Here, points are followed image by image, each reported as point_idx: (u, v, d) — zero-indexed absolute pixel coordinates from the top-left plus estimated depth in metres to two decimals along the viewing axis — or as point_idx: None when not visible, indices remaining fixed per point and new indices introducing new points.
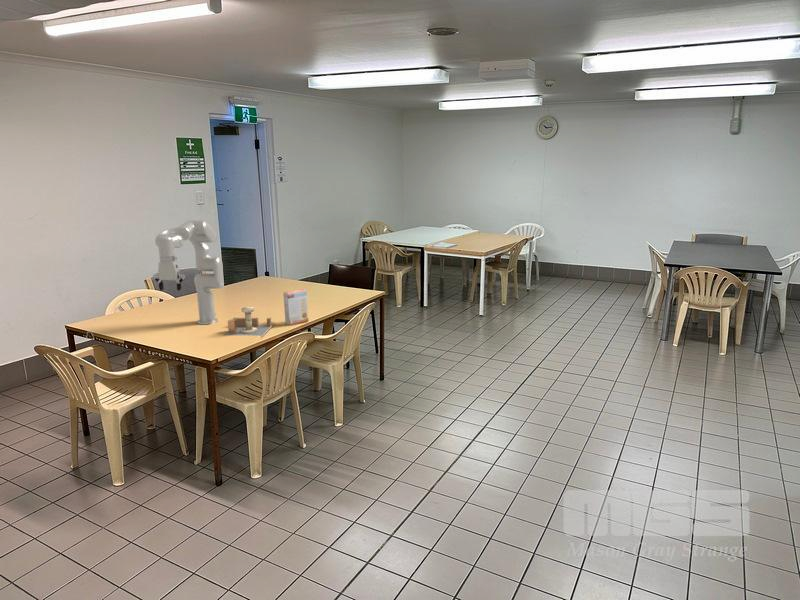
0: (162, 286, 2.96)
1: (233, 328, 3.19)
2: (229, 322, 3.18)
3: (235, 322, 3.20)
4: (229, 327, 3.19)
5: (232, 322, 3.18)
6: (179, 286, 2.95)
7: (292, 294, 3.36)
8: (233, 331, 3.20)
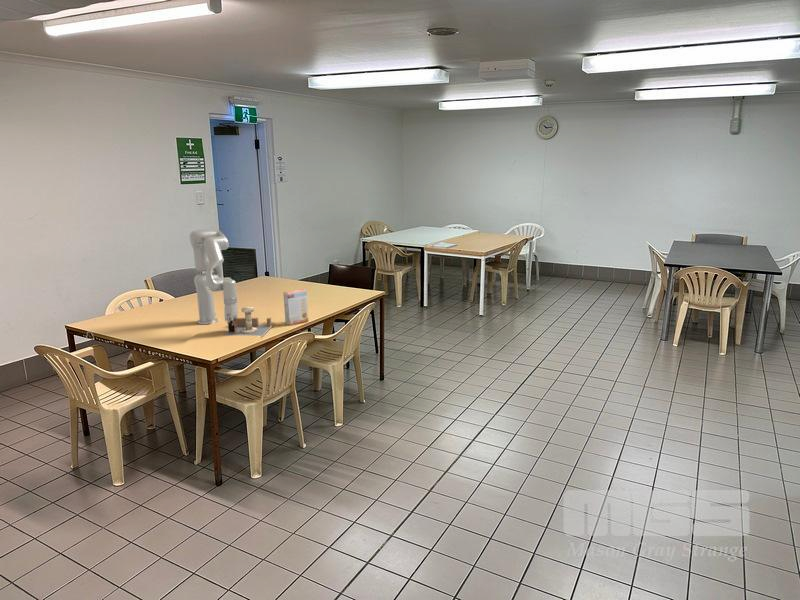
0: None
1: None
2: None
3: (235, 322, 3.20)
4: None
5: (233, 322, 3.18)
6: None
7: (292, 294, 3.36)
8: None
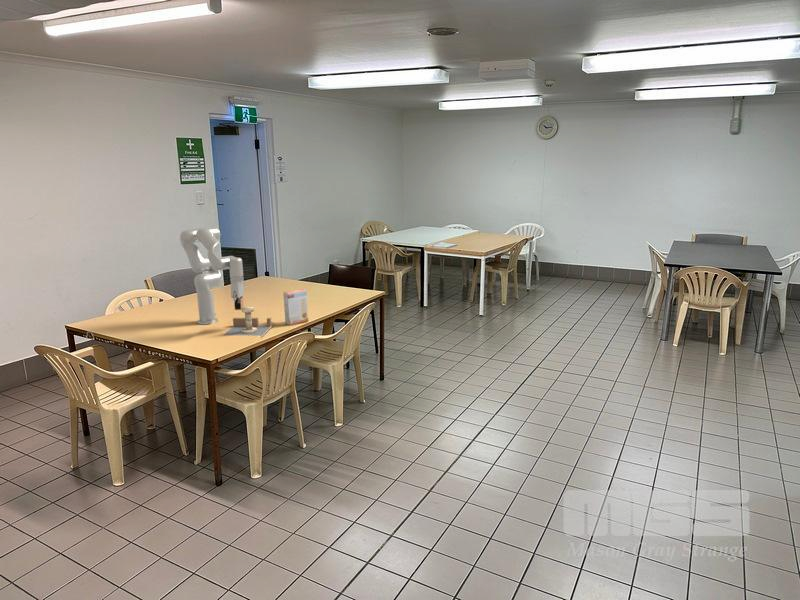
0: None
1: (240, 305, 3.23)
2: None
3: (241, 300, 3.24)
4: None
5: (239, 299, 3.22)
6: None
7: (292, 294, 3.36)
8: (239, 309, 3.24)
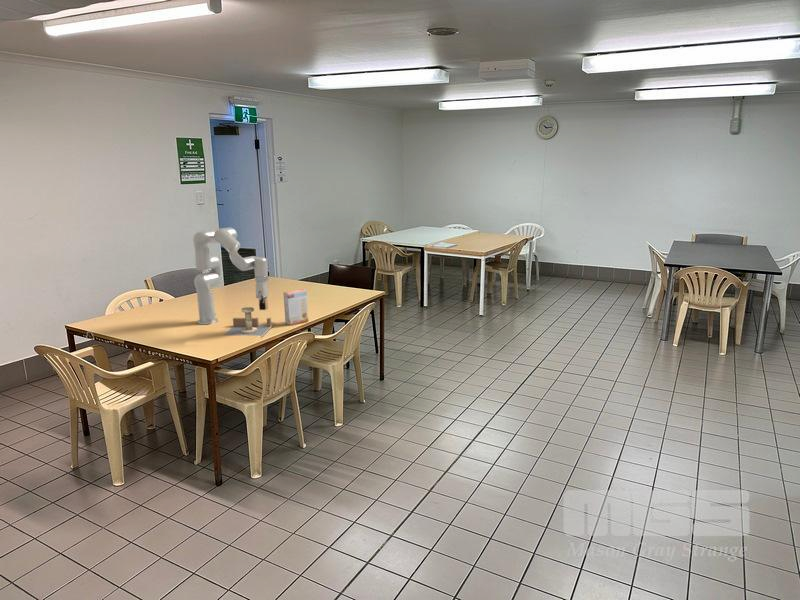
0: None
1: None
2: None
3: (266, 300, 3.23)
4: None
5: None
6: None
7: (292, 294, 3.36)
8: None
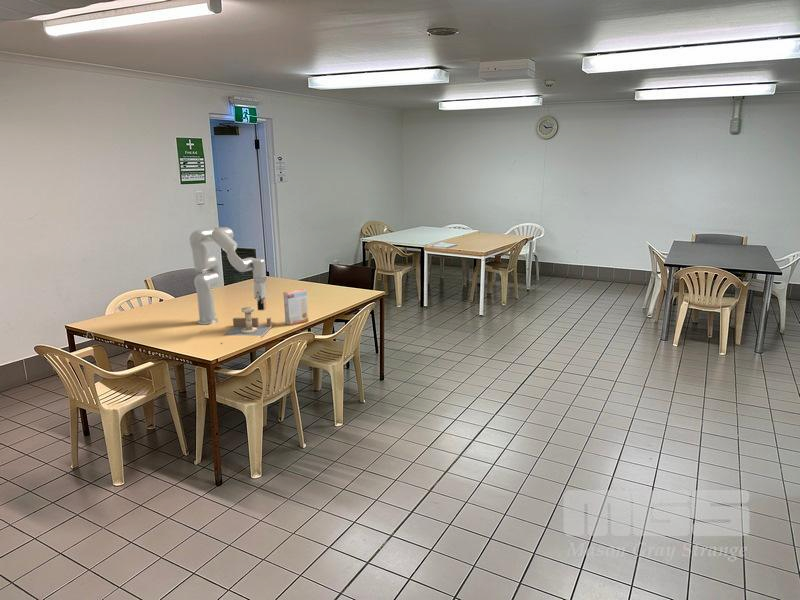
0: None
1: (263, 306, 3.27)
2: None
3: (264, 300, 3.28)
4: None
5: (262, 300, 3.27)
6: None
7: (292, 294, 3.36)
8: None
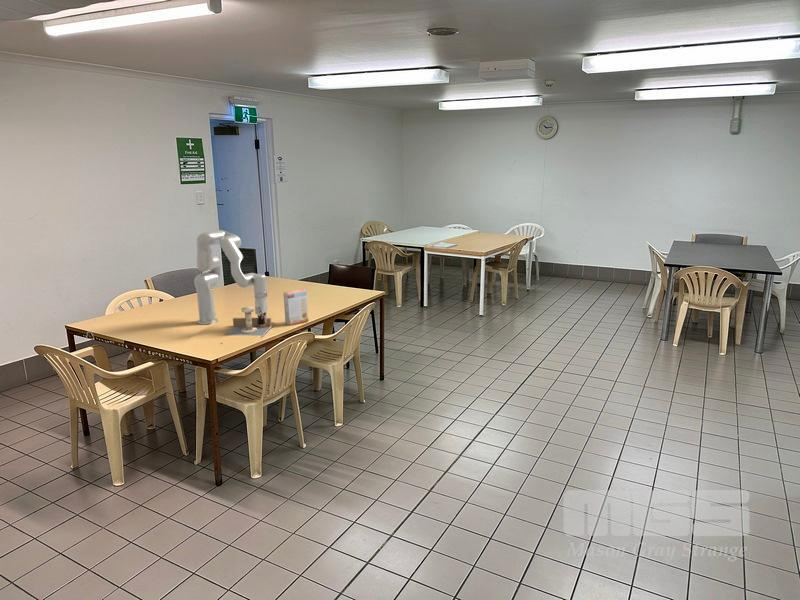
0: None
1: (264, 322, 3.30)
2: None
3: (265, 317, 3.31)
4: None
5: (263, 316, 3.29)
6: None
7: (292, 294, 3.36)
8: (263, 325, 3.31)
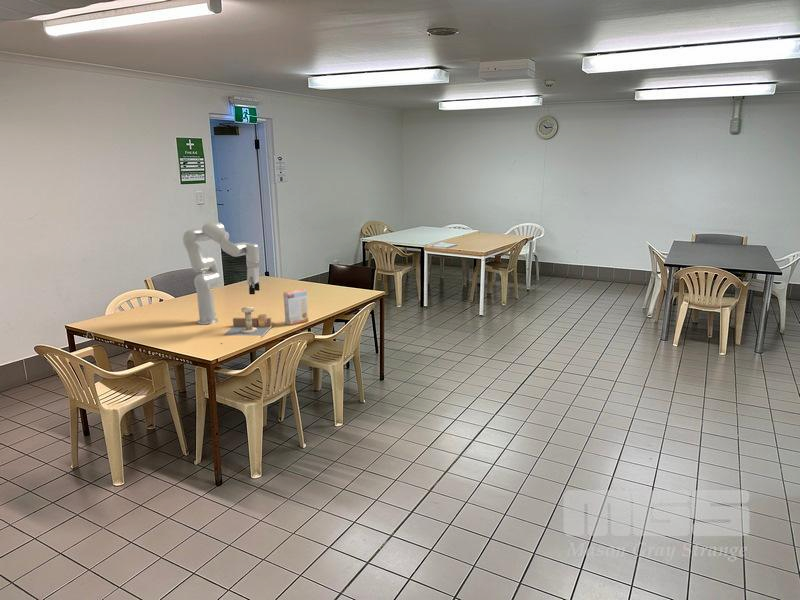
0: None
1: (264, 322, 3.30)
2: (259, 317, 3.29)
3: (265, 317, 3.31)
4: (259, 322, 3.30)
5: (263, 316, 3.29)
6: None
7: (292, 294, 3.36)
8: (263, 325, 3.31)
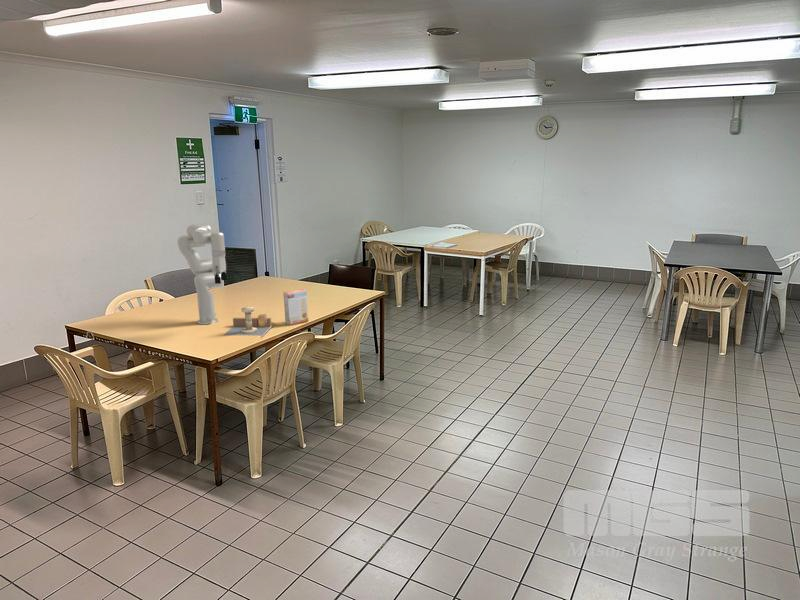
0: None
1: (264, 322, 3.30)
2: (259, 317, 3.29)
3: (265, 317, 3.31)
4: (259, 322, 3.30)
5: (263, 316, 3.29)
6: None
7: (292, 294, 3.36)
8: (263, 325, 3.31)
